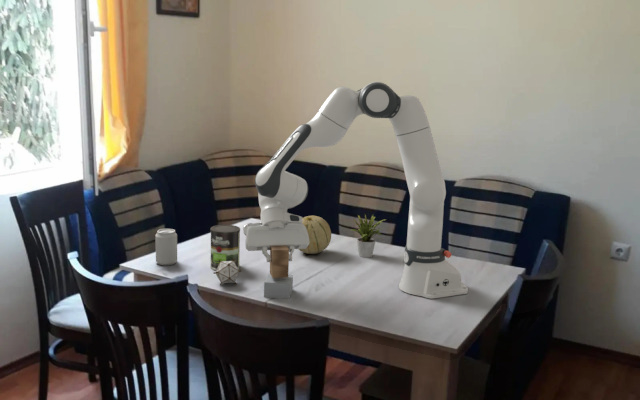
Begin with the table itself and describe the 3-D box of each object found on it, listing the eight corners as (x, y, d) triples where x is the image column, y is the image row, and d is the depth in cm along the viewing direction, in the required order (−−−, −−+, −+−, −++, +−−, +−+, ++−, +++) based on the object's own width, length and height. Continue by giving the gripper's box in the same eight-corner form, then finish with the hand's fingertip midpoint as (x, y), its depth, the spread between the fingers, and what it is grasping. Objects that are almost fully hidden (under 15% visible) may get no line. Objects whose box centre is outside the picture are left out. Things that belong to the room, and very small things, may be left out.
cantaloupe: (332, 248, 252) (333, 211, 248) (328, 260, 237) (330, 221, 234) (294, 246, 253) (296, 209, 250) (289, 257, 239) (290, 218, 235)
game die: (230, 296, 209) (234, 279, 201) (207, 284, 209) (210, 267, 202) (243, 276, 215) (247, 259, 207) (220, 265, 215) (224, 247, 208)
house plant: (383, 263, 235) (386, 220, 232) (346, 260, 237) (348, 218, 234) (385, 252, 249) (388, 211, 246) (350, 249, 251) (352, 209, 248)
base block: (292, 290, 206) (292, 275, 205) (289, 299, 198) (289, 283, 197) (267, 288, 207) (268, 273, 206) (263, 297, 199) (264, 282, 198)
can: (151, 264, 225) (151, 231, 222) (162, 258, 232) (161, 226, 229) (171, 267, 223) (171, 234, 220) (181, 260, 230) (180, 228, 227)
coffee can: (232, 273, 219) (232, 233, 216) (205, 269, 222) (205, 230, 219) (244, 264, 229) (245, 226, 226) (218, 260, 232) (218, 223, 229)
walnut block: (285, 272, 204) (285, 245, 202) (288, 277, 199) (289, 249, 197) (269, 272, 203) (270, 245, 201) (272, 278, 198) (273, 250, 196)
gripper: (243, 218, 201) (247, 257, 194) (307, 216, 206) (313, 254, 199) (241, 228, 207) (245, 266, 200) (303, 226, 212) (309, 264, 205)
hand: (279, 260), depth 199 cm, fingers closed on walnut block, 5 cm apart
